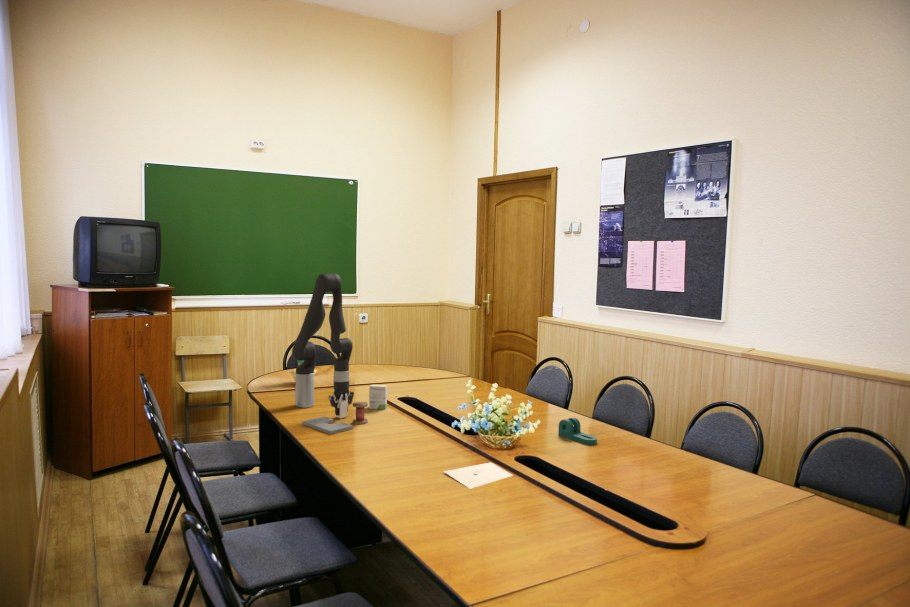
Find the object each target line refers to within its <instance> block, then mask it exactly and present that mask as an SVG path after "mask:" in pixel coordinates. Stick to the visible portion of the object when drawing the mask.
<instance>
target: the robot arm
mask: <svg viewBox="0 0 910 607" xmlns="http://www.w3.org/2000/svg"><path fill="white" fill-rule="evenodd" d="M342 288H343V287H342V279H341V276H340V275H339V274H338V273H336V272H334V273H333V272H331V273H329V272H326V273H324V272H323V273H319V274H318V275H317V277H316V279H315V282H314V287H313V291H312V296H311V299H310V302H309V305H308V308H307V310H306V313H305V316H304V319H303V322H302V326H301V328H300V331H299V333H298V336H297V337H296V339H295V342H294V344H293V346H292V348H291V355H292V358H293V360H295V361H302V360H304V362H303V363H302V364H301V365H300V366H296V368H295V369H296V381H295V387H294V391H295V392H294V405H295V406H296V407H297V408H305V409H306V408H312V407H314V406H315V375H314V369H315V370H316V354H317V349H316V345H315V343H313V341H309V340H310V339H311V338H313V337H314V335H316V334H317V333H318V331H319V330H320V329H321V328H322V327H323V323H324V321H325V317H326V308H325V306H324V304H323V303H324V302H323V299H324V296H325V294H326V293H331V295H332V303H331V304H332V305H331V307H330V311H329V315H328V322H329V327H330V343H329V344H330V346H329V347H330V350H331V352H332V353H334V354H335V355H336V354H337V355H338V354H339V355H340V356H338V357H336V358H335V359H334V361H333V364H334V365H333V370H334V371H333V394H331V395H328V400H329V403H330V406H331V407H333V408H334V415H335V416H336V415H337V416H339V415H340V408H339V406H340V402H341V401H342V400H345V401H347V413H348V411H349V405H352V404H353V399H354V394H355V392H353V391H350V390H349V389H350V360H351V356H352V352H353V347H354V346H353V342H352V340H351V339H350V338H348V337H343V338H341V335H342V334H344V333H345V332H346V330H347V328H346V323H345V319H344V318H345V317H344V312H343V290H342Z"/></svg>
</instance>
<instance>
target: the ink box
mask: <svg viewBox="0 0 910 607" xmlns="http://www.w3.org/2000/svg"><path fill="white" fill-rule="evenodd" d="M368 390H369V391H368V392H369V393H368V396H369V397H368V398H369V399H368V402H369V403H368V409H369V410H386V409H387V408H388V385H387V384H384V385H383V384H371V385H369V389H368Z"/></svg>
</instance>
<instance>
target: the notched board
mask: <svg viewBox="0 0 910 607" xmlns="http://www.w3.org/2000/svg"><path fill="white" fill-rule="evenodd" d="M302 425H304V426H306V427H309V428H312V429H315V430H317V431H321V432H324V433H326V434H328V435H334V434H338V433H342V432H346V431H350V430H353V429H354V425H352V424H349V423H345V422H343V421H342V422H337V423H335V418H330V417H328V416H326V415H325V416H319V417H315V418H311V419H305V420H302Z"/></svg>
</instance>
